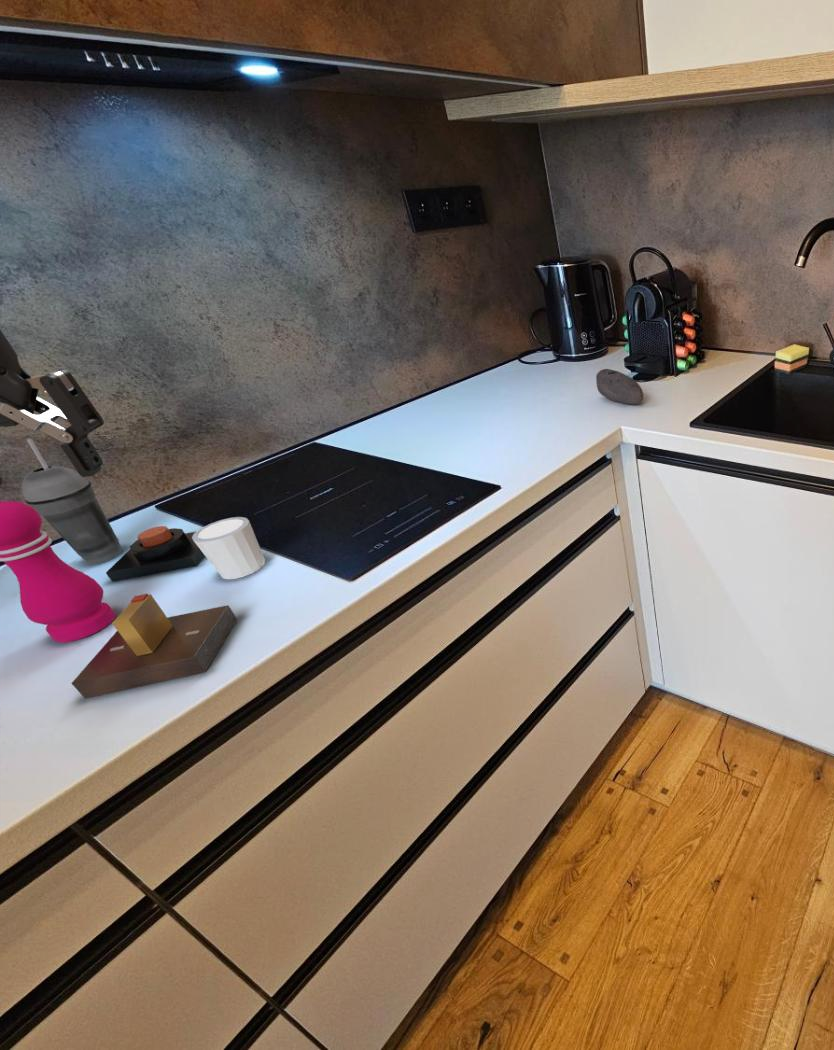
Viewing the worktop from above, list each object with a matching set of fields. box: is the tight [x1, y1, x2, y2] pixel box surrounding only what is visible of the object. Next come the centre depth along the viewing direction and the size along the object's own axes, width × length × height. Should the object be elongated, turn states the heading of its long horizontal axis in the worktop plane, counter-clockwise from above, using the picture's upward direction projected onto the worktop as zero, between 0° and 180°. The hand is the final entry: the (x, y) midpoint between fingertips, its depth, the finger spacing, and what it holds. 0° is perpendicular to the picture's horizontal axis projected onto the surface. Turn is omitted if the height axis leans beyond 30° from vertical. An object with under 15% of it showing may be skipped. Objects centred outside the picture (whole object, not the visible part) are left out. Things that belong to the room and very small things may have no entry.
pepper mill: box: [0, 500, 116, 643], centre depth 72 cm, size 7×7×20 cm
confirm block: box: [105, 527, 206, 583], centre depth 90 cm, size 11×9×4 cm
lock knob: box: [111, 593, 173, 656], centre depth 68 cm, size 5×2×5 cm, turn 16°
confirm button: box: [137, 525, 173, 547], centre depth 89 cm, size 4×4×2 cm
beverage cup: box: [21, 438, 124, 565], centre depth 88 cm, size 7×7×20 cm
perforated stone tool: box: [595, 368, 644, 406], centre depth 139 cm, size 15×5×7 cm, turn 44°
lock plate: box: [71, 604, 238, 699], centre depth 70 cm, size 12×10×3 cm
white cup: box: [192, 516, 266, 580], centre depth 85 cm, size 7×7×7 cm
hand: (43, 480), depth 60 cm, fingers open, 8 cm apart
